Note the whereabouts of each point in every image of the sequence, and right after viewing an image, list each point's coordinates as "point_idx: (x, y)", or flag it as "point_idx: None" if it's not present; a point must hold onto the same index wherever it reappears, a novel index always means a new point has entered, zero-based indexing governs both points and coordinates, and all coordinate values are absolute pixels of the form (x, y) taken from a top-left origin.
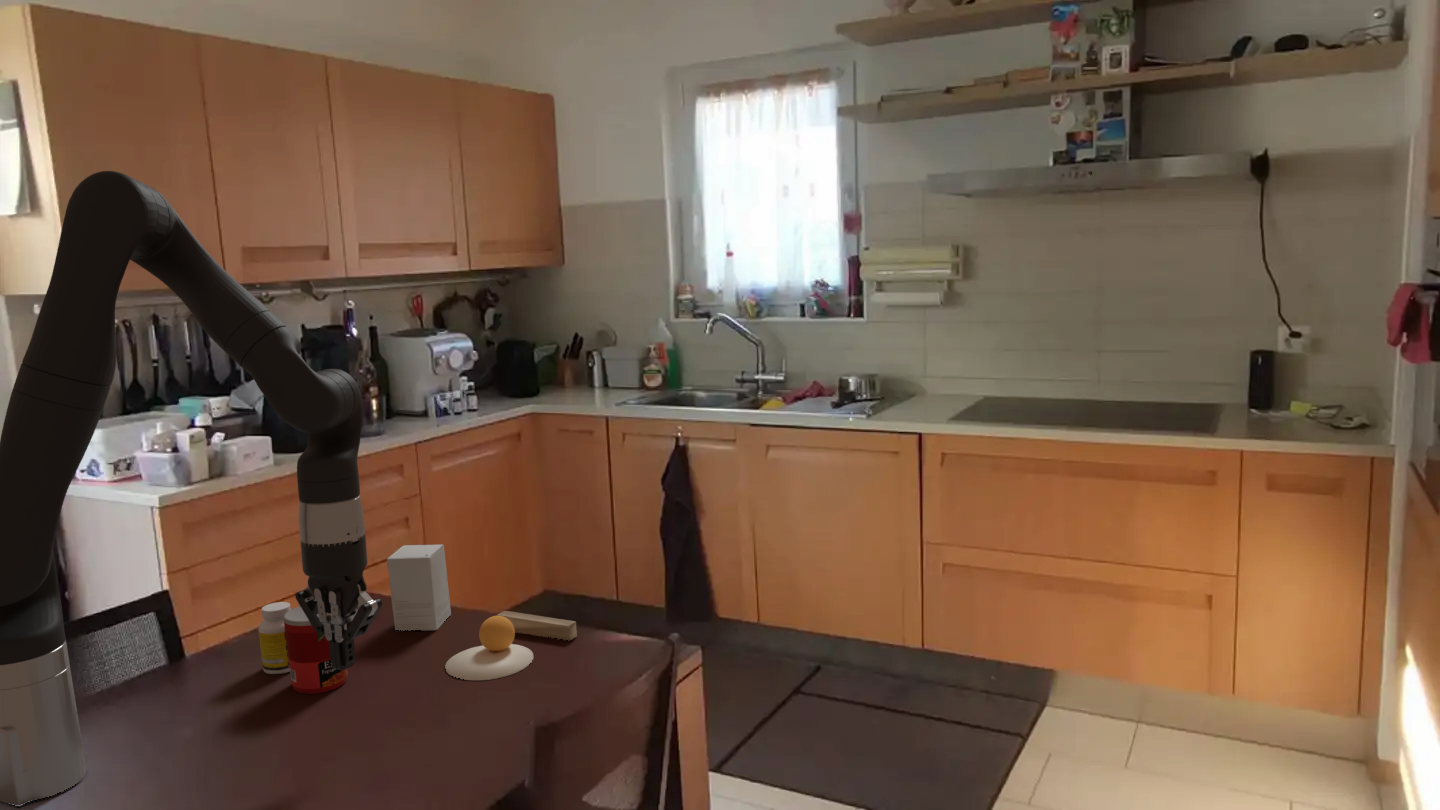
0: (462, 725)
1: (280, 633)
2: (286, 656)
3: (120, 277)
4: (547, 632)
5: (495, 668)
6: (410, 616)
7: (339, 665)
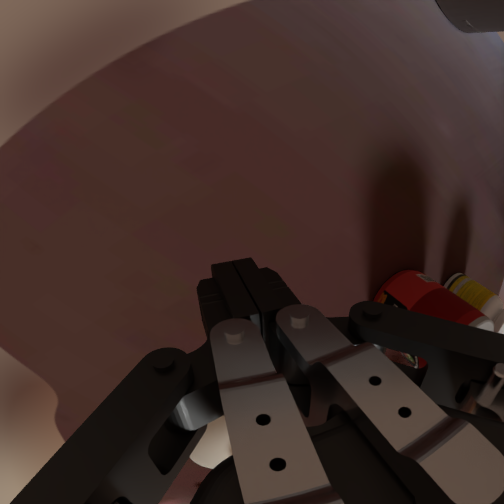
0: (106, 350)
1: (479, 310)
2: None
3: None
4: None
5: (217, 440)
6: None
7: (217, 268)
